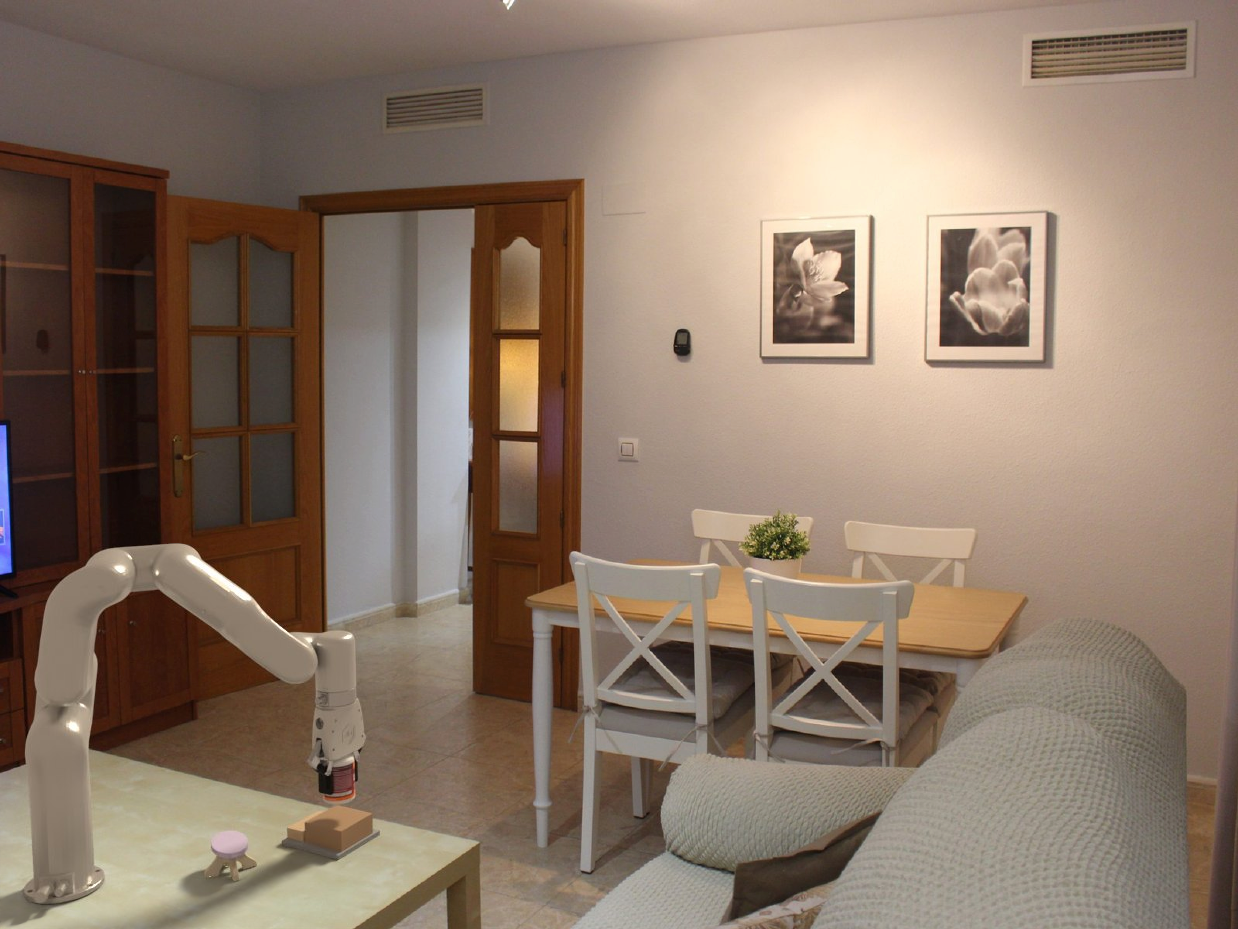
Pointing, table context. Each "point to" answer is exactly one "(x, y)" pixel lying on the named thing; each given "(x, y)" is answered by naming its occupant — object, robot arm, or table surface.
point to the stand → (332, 832)
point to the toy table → (229, 853)
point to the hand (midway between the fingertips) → (338, 786)
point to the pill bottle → (342, 781)
